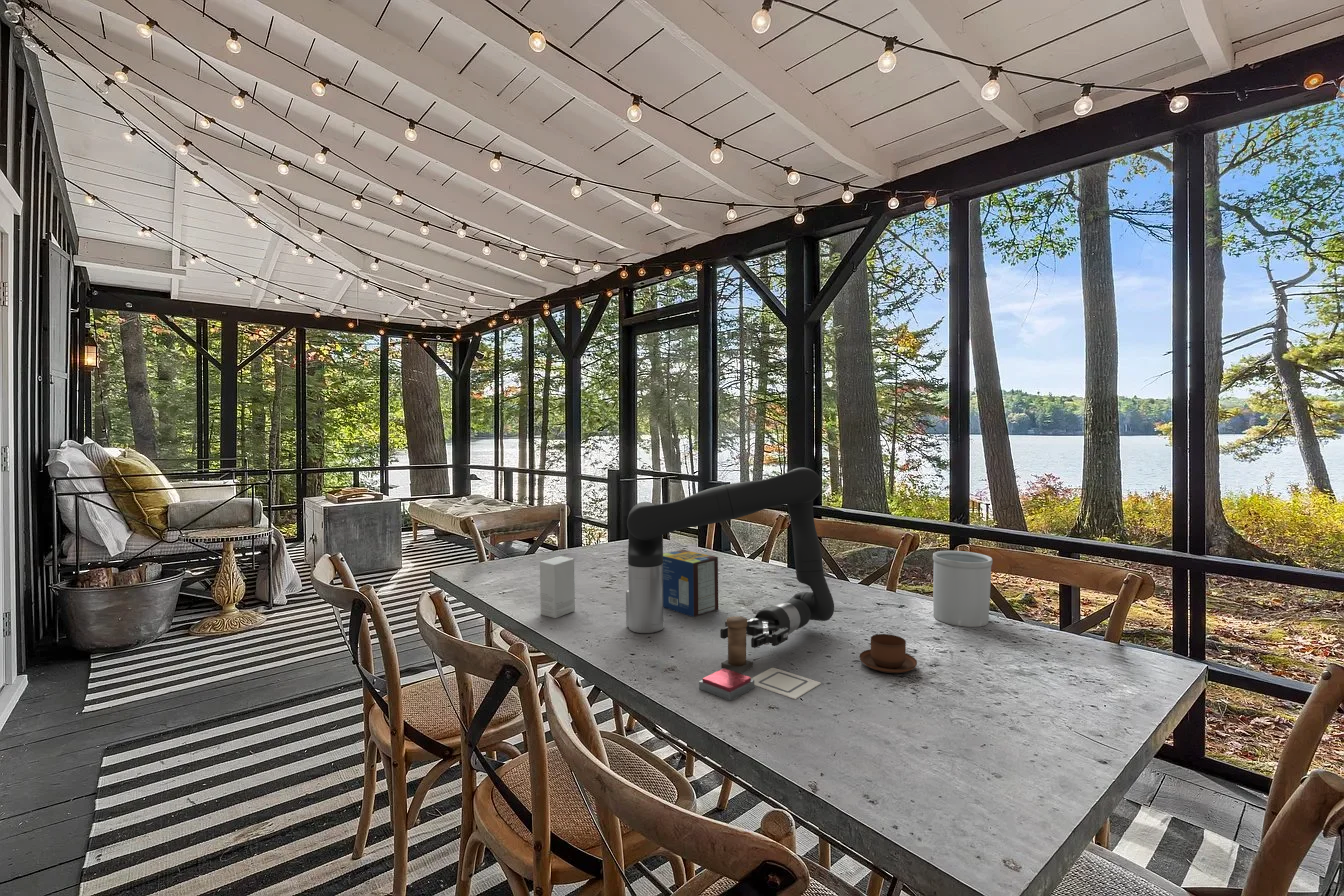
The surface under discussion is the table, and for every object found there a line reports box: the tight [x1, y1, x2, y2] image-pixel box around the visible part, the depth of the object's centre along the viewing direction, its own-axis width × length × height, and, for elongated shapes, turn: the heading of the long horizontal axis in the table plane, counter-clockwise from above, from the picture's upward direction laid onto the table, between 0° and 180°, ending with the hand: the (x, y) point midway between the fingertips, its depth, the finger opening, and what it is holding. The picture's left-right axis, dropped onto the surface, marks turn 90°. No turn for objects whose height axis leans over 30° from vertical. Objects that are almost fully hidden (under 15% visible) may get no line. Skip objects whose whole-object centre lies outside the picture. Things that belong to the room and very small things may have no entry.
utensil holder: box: [932, 550, 993, 628], centre depth 168 cm, size 15×15×18 cm
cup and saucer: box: [859, 633, 918, 674], centre depth 136 cm, size 12×12×6 cm
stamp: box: [720, 615, 754, 674], centre depth 136 cm, size 5×5×11 cm
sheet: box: [751, 667, 822, 700], centre depth 128 cm, size 12×10×1 cm
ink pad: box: [698, 668, 755, 702], centre depth 125 cm, size 8×8×2 cm
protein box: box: [663, 549, 719, 618], centre depth 181 cm, size 10×15×16 cm
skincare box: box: [539, 555, 576, 619], centre depth 176 cm, size 8×7×16 cm
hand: (736, 638), depth 136 cm, fingers open, 8 cm apart
